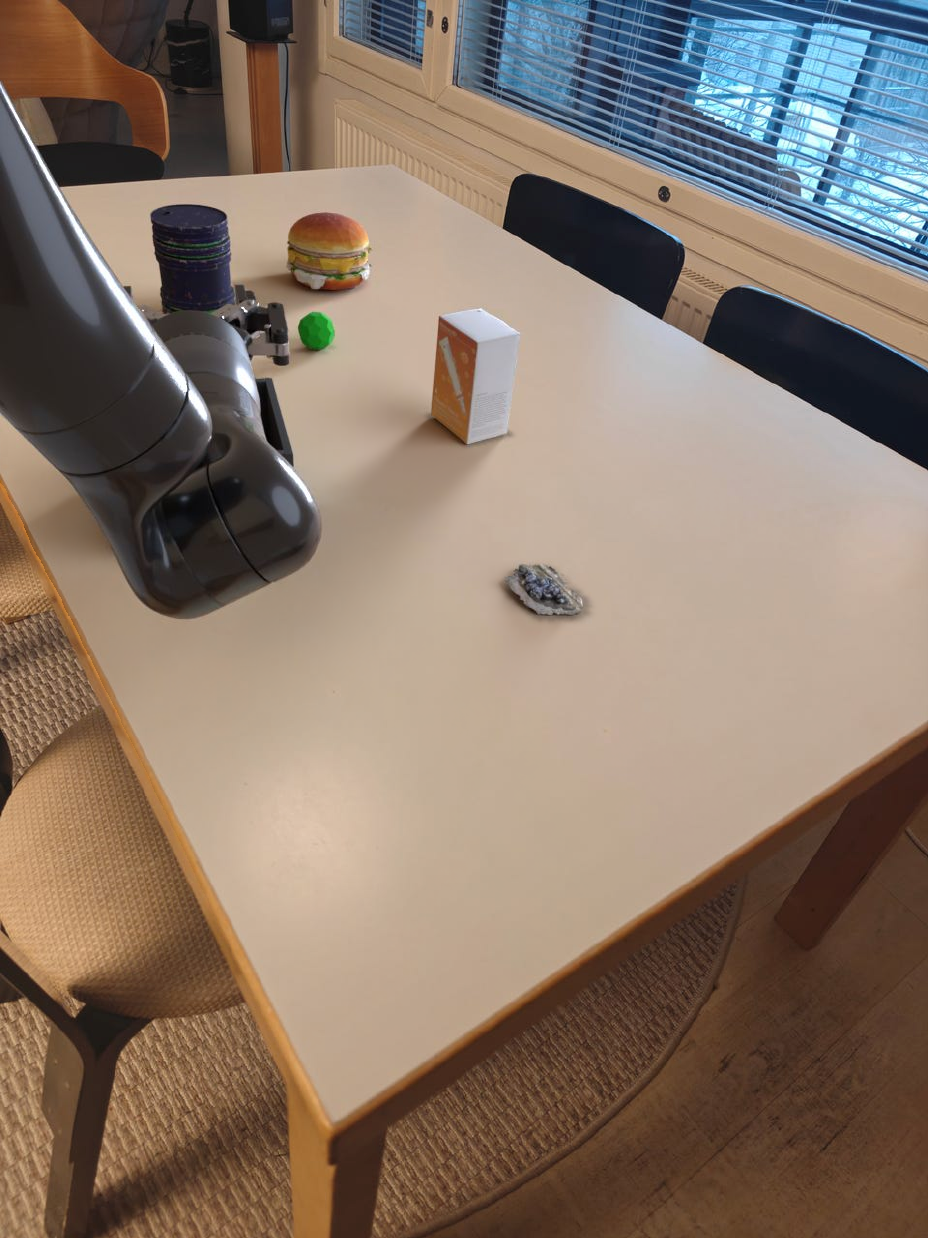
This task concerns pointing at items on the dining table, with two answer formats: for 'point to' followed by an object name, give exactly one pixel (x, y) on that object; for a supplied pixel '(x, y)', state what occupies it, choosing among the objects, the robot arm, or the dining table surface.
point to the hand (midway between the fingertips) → (184, 297)
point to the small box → (474, 374)
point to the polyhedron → (316, 331)
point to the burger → (328, 251)
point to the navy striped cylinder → (192, 257)
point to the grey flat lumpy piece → (544, 590)
